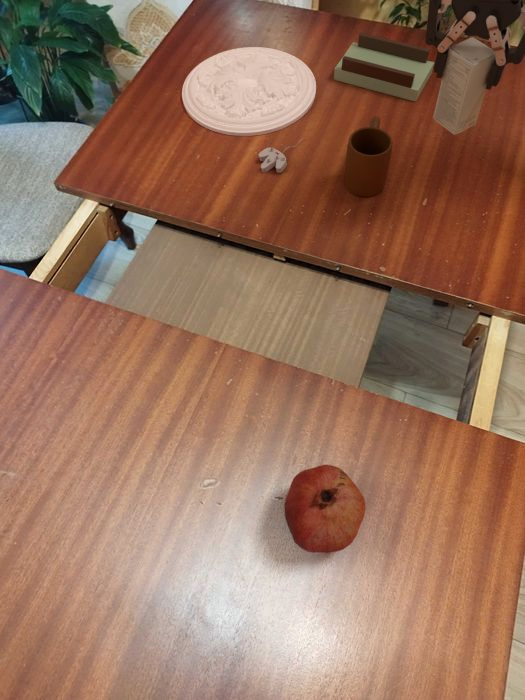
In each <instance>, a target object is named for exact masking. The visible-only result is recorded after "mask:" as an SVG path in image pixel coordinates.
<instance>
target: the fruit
mask: <svg viewBox="0 0 525 700" xmlns="http://www.w3.org/2000/svg"><path fill="white" fill-rule="evenodd" d="M283 506H284V507H283V510H284V511H283V512H284V519H285V520H286V524H287V527H288V529H289V532H290V534H291V537H292V540H293V542H294V543H295V544H296V546H298V547H299V548H300V549H301V550H304V551H306V552H308V553H324V554H328V553H335V552H340V551H342V550H345V549H346V548H348V547H349V546H350V545H351V544H352V543H353V542H354V540H355V539H356V537H357V536H358V533H359V529H360V526H361V524H362V522H363V521H364V517H365V514H366V513H365V512H366V500H365V497H364V495H363V493H362V492H361V491H360V489H359V487H358V486H357V485H356V484H355V482H354V481H353V480H352V479H351V477H350V476H349V475H348V474H347V473H346V472H345V471H344V470H343V469H342V468H340V467H338V466H335V465H331V464H321V465H318V466H315V467H311V468H308V469H303V470H302V471H299V472H298V473H297V474H296V475H295V476H294V477H293V479H292V481H291V483H290V486H289V489H288V491H287V494H286V495H285V499H284V505H283Z"/></svg>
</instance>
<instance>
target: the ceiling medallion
mask: <svg viewBox="0 0 525 700" xmlns="http://www.w3.org/2000/svg"><path fill="white" fill-rule="evenodd" d="M316 95H317V82H316V77H315V75H314V73H313V72H312V70H311V68H310V67H309V66H308V65H307V64H306V63H305V62H303V60H301V59H300V58H298V57H297V56H294V55H293V54H290V53H288V52H285V51H283V50H280V49H275V48H270V47H263V46H246V47H245V46H244V47H237V48H232V49H228V50H224V51H221V52H219V53H216V54H214V55H212V56H210V57H208V58H206V59H205V60H203V61H201V62H200V63H199V64H197V65H196V66H195V67H194V68H193V69H192V70H191V71H190V72H189V73H188V75H187V76H186V78H185V80H184V82H183V85H182V88H181V98H182V103H183V106H184V109H185V112H186V113H187V114H188V115H189V117H190V118H191V119H192V120H193V121H195V123H197V124H198V125H200V126H202V127H203V128H204V129H205V128H206V129H207V130H210V131H211V132H215V133H219V134H222V135H227V136H235V137H253V136H255V137H256V136H260V135H261V136H262V135H266V134H270V133H274V132H277V131H281V130H283V129H285V128H287V127H289V126H291V125H292V124H294V123H296V122H298V120H300V119H301V118H303V116H305V115H306V113H307V112H309V110H310V109H311V107H312V106H313V104H314V101H315V99H316Z"/></svg>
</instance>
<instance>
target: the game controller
mask: <svg viewBox="0 0 525 700" xmlns="http://www.w3.org/2000/svg"><path fill="white" fill-rule="evenodd" d="M306 139H307V138H305V137H304V138H302V139H300V140H299V141H298V142H297V144H295V145H294V146H293V148H295V147H297V146H298V144H299V143H301V141H302V140H304V141H306ZM289 148H292V146H291V145H290V146H289ZM287 149H288V147H286V148H284V150H283V152H285V151H287ZM283 152H281V151H280V150H278V149H277V148H274V147H266V148H264V149H263V150H261V151H260V152H259V153H258V158H259V161H260V162H262V163H261V164H260V169H261V172H262V173H267V172H269V171H270V170H271V169H273V168H274V167H275V170H276V173H278V174H282V173H283V171H284V170H286V169H285V168H287V166H288V162H287V157H286V155H285V154H284V153H283Z"/></svg>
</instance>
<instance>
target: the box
mask: <svg viewBox="0 0 525 700" xmlns="http://www.w3.org/2000/svg"><path fill="white" fill-rule="evenodd" d="M495 60H496V59H495V54H494V50H492V47H489V46H488V45H487V44H484V42H482V41H480V40H478V39H477V38H475V37H474V36H471V37H469V38H467V39H465V40H463V41H460V42H458V43H456V44H454V45H452V46H451V47H449V51H448V55H447V60H446V64H445V68H444V72H443V76H442V78H441V81H440V87H439V90H438V94H437V99H436V103H435V107H434V111H433V115H432V119H433V120H434V121H435V122H436V123H438V124H439V125H440V126H441V127H443V128H444V129H446V130H447V131H448V132H450V133H451V134H452V135H453V136H456V135H458V134H460V133H462V132H465V131H466V130H468V129H470V128H472V127H474V126H475V125H476V124H477V121H478V118H479V115H480V112H481V109H482V105H483V103H484V98H485V95H486V92H487V89H486V86H487V83H488V80H489V77H490V74H491V71H492V68H493V65H494V63H495Z"/></svg>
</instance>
